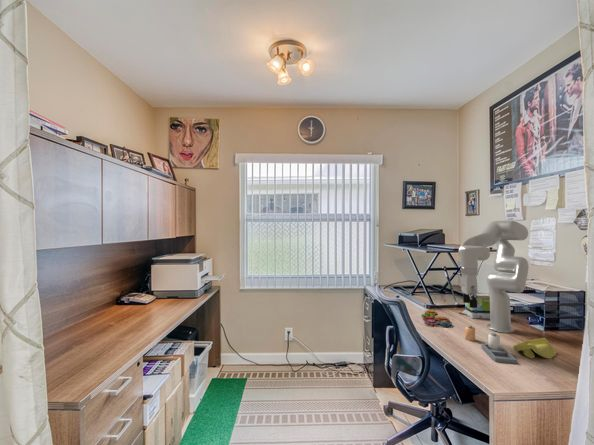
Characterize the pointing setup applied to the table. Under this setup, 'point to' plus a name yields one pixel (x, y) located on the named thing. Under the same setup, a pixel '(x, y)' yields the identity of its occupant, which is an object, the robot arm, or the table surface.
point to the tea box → (479, 307)
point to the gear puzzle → (436, 320)
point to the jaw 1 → (469, 333)
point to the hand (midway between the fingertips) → (470, 305)
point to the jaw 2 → (493, 341)
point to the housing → (499, 354)
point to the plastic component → (536, 348)
